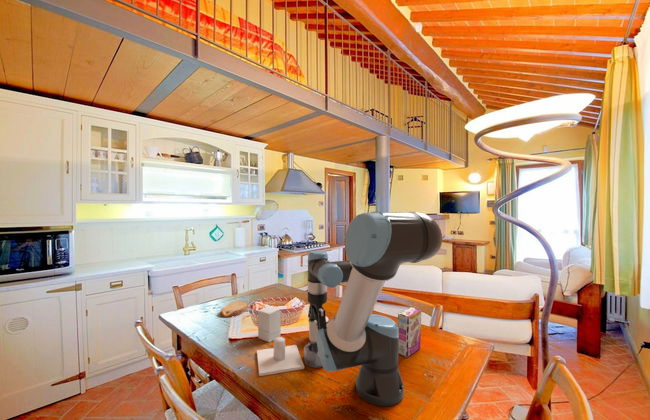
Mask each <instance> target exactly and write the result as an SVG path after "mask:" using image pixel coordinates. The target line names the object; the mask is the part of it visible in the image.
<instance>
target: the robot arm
mask: <svg viewBox="0 0 650 420" xmlns="http://www.w3.org/2000/svg"><path fill="white" fill-rule="evenodd" d="M344 237H345V238H344V240H345V244H344V249H345V253H346V257H347V260H338V261H336V260H335V261H329V257H328V252H327V251H325V250H311V251H309V252H308V254H307V302H308V303H309V306H308V307H309V308H308V314H307V318H308V331H309V332H308V339H309V338H315V337H316V340H317V348H318V356H319V357H320V361H321V364H322V366H323V367H322V368H323V369H324V370H325V371H326V372H329V373H330V372H338V371H341V370H346V369H350V368H355V367H358V366H360V367H359V370H358V374H357V377H356V380H355V389H356V390H355V391H356V393H357V395H358V396H359V397H360V398H361V399H362V400H363V401H365V402H366V403H369V404H371V405H374V406H378V407H391V406H394V405H397V404H399V403H400V402H401V401H402V400H403V399H404V397H405V395H404V393H405V390H404V389H405V388H404V387H405V385H404V382H403V379H402V375H401V372H400V369H399V354H398V338H399V332H398V323H397V322H396V321H394V320H393V319H392V318H390V317H388V316H385V315H381V314H374V313H373V310H374V308H375V306H376V304H377V301H378V300H379V296H380V294H381V293H382V290H383V287H384V285H385V283H386V282H388V281H390V280H392V279H394V278H395V276H396V275H397V272H398V270H399V268H400V266H401V265H403V264H407V263H411V264H416V263H420V262H423V261H426V260H429V259H431V258H432V257H434V256H436V254H438V252H439V250H440V249H441V247H442V245H443V244H442V243H443V234H442V229H441V228H440V226H439V224H438V223H437V221H436V220H435V219H434V218H432V217H431V216H430V215H428V214H425V213H423V212H417V211H404V212H403V211H402V212H401V211H399V212H397V211H395V212H393V211H392V212H382V211H370V212H364V213H360V214H357V215H355V216H354V217H353V218H352V220H351V221H350V222H349V224H348V226H347V230H346V232H345V236H344ZM341 283H346V286H345V288H344V291H343V295H342V298H341V301H340V304H339V307H338V310H337V313H336V315H335V316H333V317H332V318H331V319H329V322H328V326H326V317H327V316H326V310H325V309H324V307H323V305H324V304H326V303H327V302H328V292H327V291H328V288H336V287H337V286H339V285H340V284H341ZM325 316H326V317H325ZM314 320H316V321H317V328H318V331H317V335H316V321H314ZM309 321H310V322H309Z"/></svg>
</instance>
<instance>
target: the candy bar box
mask: <svg viewBox="0 0 650 420" xmlns="http://www.w3.org/2000/svg"><path fill="white" fill-rule="evenodd" d="M397 325H398V332H399V338H398V356H401V357H404V358H406V359H408V358H409V357H410V356H412V355H413V354H415V353H416V352H417V351H419V350H420V349H421V336H422V335H421V334H422V333H421V331H422V310H421V309H419V308H415V307H412V306H411V307H409V308H407V309H405V310H402V311H400V312H398V313H397Z"/></svg>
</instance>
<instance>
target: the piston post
mask: <svg viewBox="0 0 650 420" xmlns="http://www.w3.org/2000/svg"><path fill="white" fill-rule="evenodd" d="M256 356H257V357H256V358H257V368H258V377H263V376H264V377H265V376H269V375H275V374H281V373H282V374H283V373H286V372H287V373H288V372H294V371H300V370H304V369H305V365H304V364H305V363H304V362H303V358H302V357H301V354H300V352H299V348H298V346H297V344H293V345H286V338H285V337H283V336H280V337H277V338H275V339H274V340H273V347H272V348H263V349H257V350H256Z"/></svg>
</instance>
